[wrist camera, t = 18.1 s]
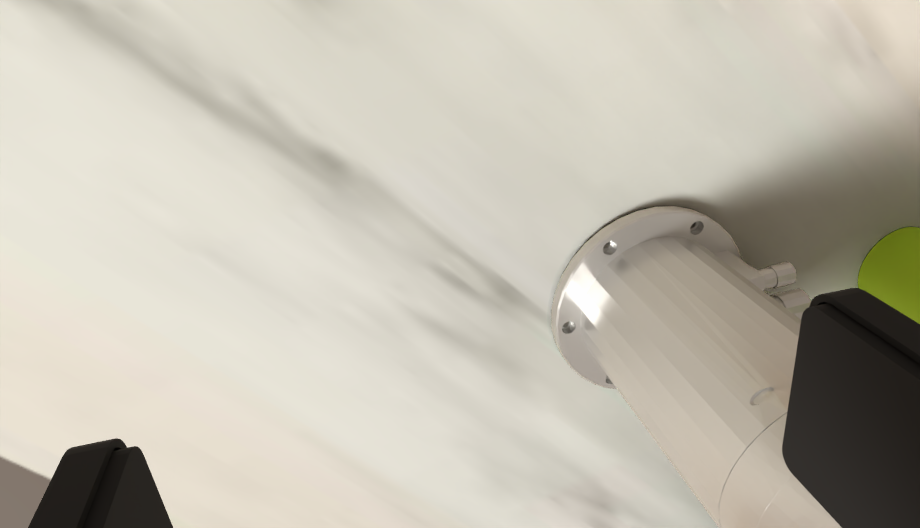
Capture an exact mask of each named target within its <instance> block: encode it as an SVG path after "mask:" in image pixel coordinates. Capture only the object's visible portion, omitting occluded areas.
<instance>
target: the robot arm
mask: <svg viewBox="0 0 920 528" xmlns="http://www.w3.org/2000/svg"><path fill="white" fill-rule="evenodd" d="M796 279H797V274H796V270H795V268H794V266H793V265H792V264H791V263H789V262H783V263H779V264H775V265H771V266H768V267H766V268H764V269H760V270H757V269H756V268H754V267H751V266H749V265H748V264H747V263H745V262H744V261H742V259H741V256H740V252H739V249H738V247H737V245H736V243H735V242H734V240H733V238H732V237H731V235H730V234H729V233H728V232H727V231H726V230H725V229H724V228H723V227H722V226H721V225H720V224H718V223H717V222H715V221H714V220H712V219H711V218H709V217H708V216H706V215H704V214H702V213H700V212H697V211H695V210H693V209H689V208H683V207H677V206H661V207H652V208H648V209H644V210H639V211H636V212H634V213H631V214H629V215H626V216H624V217H621V218H619V219H617V220H616V221H614V222H612V223H611V224H609V225H608V226H606V227H604V228H603V229H601V230H600V231H599V232H598V233H596V234H595V235H594V236H593V237H592V238H591V239H589V240H588V241H587V242H586V243H585V244H584V245H583V246H582V247H581V249H580V250H579V251H578V252H577V253H576V254H575V256H574V257H573V258H572V259H571V261H570V263H569V264H568V266H567V267H566V269H565V271H564V272H563V274H562V276H561V278H560V281H559V283H558V286H557V288H556V291H555V293H554V299H553V304H552V309H551V328H552V332H553V336H554V340H555V343H556V345H557V347H558V349H559V351H560V353H561V355H562V356H563V358H564V359H565V360H566V362H567V363H568V364H569V366H570V367H571V368H572V369H573V370H574V371H575V372H576V373H577V374H578V375H579V376H581V377H582V378H584V379H586V380H587V381H589V382H591V383H593V384H595V385H599V386H602V387H605V388H612V389H617V390H618V391H619V392H620V394H621V395H622V396H623V398H624V399H625V401H626V402H627V403H628V405H629V406H630V407H631V409H632V410H633V411H634V413H635V414H636V415H637V417H638V418H639V420H640V421H641V422H642V424H643V425H644V426H645V428H646V429H647V430H648V432H649V433H650V435H651V436H652V437H653V439H654V440H655V441H656V443H657V444H658V445H659V447H660V448H661V449H662V451H663V452H664V454H665V455H666V456H667V458H668V459H669V460H670V462H671V463H672V464H673V466H674V467H675V468H676V470H677V471H678V473H679V474H680V475H681V477H682V478H683V479H684V481H685V482H686V483H687V485H688V486H689V488H690V489H691V490H692V492H693V493H694V494H695V496H696V497H697V498H698V500H699V501H700V502H701V504H702V505H703V507H704V508H705V509H706V511H707V512H708V513H709V515H710V516H711V517H712V519H713V520H714V522H715V523H716V524H717V526H718V527H719V528H920V324H919V323H917V322H915V321H914V320H912V319H911V318H909V317H907V316H906V315H904V314H902V313H901V312H899V311H897V310H896V309H894V308H893V307H891V306H889V305H888V304H886V303H884V302H883V301H881V300H879V299H878V298H876V297H875V296H873V295H871V294H870V293H868V292H866V291H864V290H862V289H859V288H850V289H845V290H840V291H835V292H831V293H826V294H821V295H818V296H816V297H814V299H813V300H812V301H811V300H810V298H809V296H808V295H807V294H806V292H805V291H804V290H802V289H799V288H797V289H793V290H789V291H785V292H782V293H778V294H774V295H771V296H769V295H768V294H766V293H765V292H764V290H765V289H769V288H777V287H781V286H785V285H789V284H792V283H794V282H795V281H796ZM28 528H173V526H172V524H171V521H170V519H169V516H168V514H167V512H166V509H165V507H164V504H163V502H162V499H161V497H160V494H159V492H158V489H157V487H156V484H155V482H154V479H153V477H152V475H151V472H150V470H149V467H148V465H147V462H146V460H145V457H144V455H143V453H142V451H141V450H140V448H139V447H136V446H134V447H129V448H127V447H126V445H125V443H124V442H123V441H122V440H121V439H111V440H106V441H101V442H96V443H92V444H87V445H82V446H77V447H72V448H70V449H68V450H67V451H66V452H65V454H64V455H63V457H62V459H61V461H60V463H59V465H58V467H57V469H56V471H55V473H54V475H53V477H52V479H51V482H50V484H49V486H48V488H47V490H46V492H45V494H44V496H43V498H42V500H41V502H40V504H39V506H38V509H37V511H36V512H35V515H34V517H33V519H32V521H31V523H30V525H29V527H28Z"/></svg>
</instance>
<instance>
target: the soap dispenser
mask: <svg viewBox="0 0 920 528" xmlns="http://www.w3.org/2000/svg"><path fill="white" fill-rule="evenodd" d="M858 287H859V289H862V290H864V291H866V292H868V293H870V294H871V295H873V296H875V297H876V298H878V299H879V300H881V301H883V302H884V303H886V304H888V305H889V306H891V307H893V308H894V309H896V310H897V311H899V312H901V313H902V314H904V315H906V316H907V317H909V318H911V319H912V320H914V321H915V322H917V323H919V324H920V228H918V227H906V228H902V229H899V230H896V231H894V232H892V233H890V234H889V235H887V236H886V237H884V238H883V239H882V240H880V241H879V242H878V243H877V244H876V245H875V246H874V247H873V248H872V249H871V251H870V252H869V253H868V255H867V256H866V258H865V260H864V261H863V263H862V266H861V268H860V271H859V275H858Z"/></svg>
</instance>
